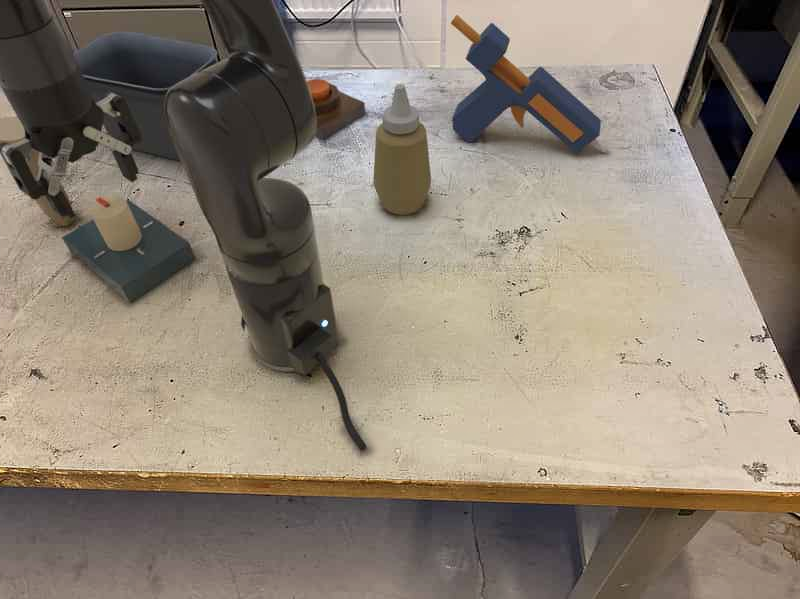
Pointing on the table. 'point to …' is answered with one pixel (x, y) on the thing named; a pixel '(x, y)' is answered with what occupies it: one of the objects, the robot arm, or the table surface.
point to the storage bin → (141, 79)
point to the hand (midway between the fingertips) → (101, 196)
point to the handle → (31, 166)
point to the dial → (116, 223)
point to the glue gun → (519, 95)
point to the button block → (336, 112)
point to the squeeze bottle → (401, 157)
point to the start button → (319, 89)
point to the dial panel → (132, 255)
